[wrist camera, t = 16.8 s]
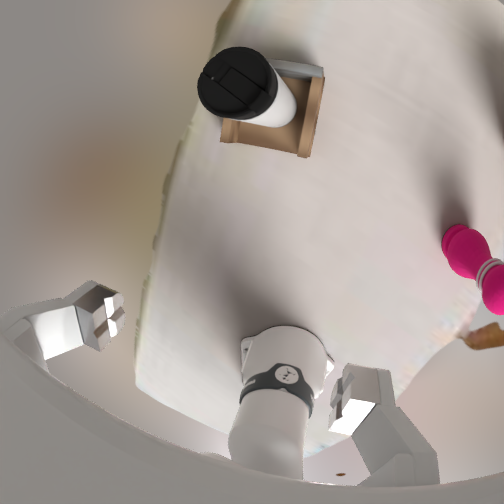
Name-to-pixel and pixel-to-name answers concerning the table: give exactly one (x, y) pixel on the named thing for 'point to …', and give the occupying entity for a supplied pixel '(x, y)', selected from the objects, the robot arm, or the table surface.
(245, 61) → the travel mug
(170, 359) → the table surface
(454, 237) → the pepper mill
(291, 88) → the cradle
